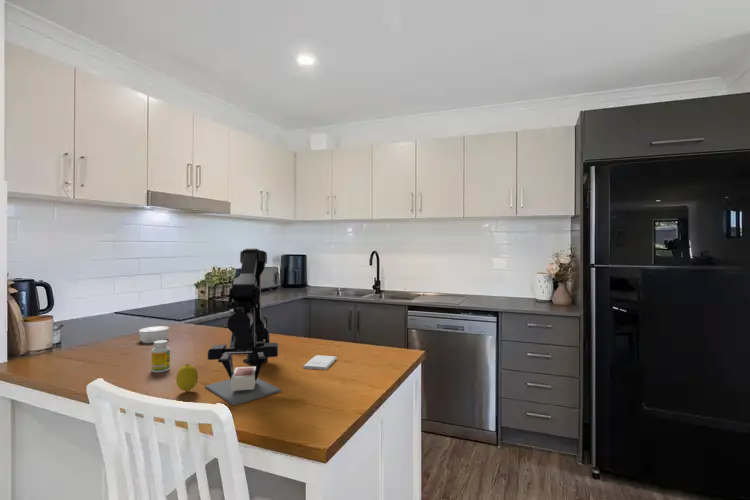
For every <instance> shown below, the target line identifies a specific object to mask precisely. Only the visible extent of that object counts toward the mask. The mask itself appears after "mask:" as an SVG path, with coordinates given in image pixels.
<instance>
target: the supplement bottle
mask: <svg viewBox="0 0 750 500" xmlns="http://www.w3.org/2000/svg"><path fill="white" fill-rule="evenodd" d="M168 343H169V342H168V340H167V339H166V340H159V341H155V342H154V343H153V348H152V349H151V354H150V355H151V365H150V366H151V368H150V370H151V372H152V373H159V374H160V373H164V372H165V373H166V372H167V371H170V368H171V349H170V347H169V346H168Z"/></svg>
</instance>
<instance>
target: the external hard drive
mask: <svg viewBox="0 0 750 500" xmlns="http://www.w3.org/2000/svg"><path fill="white" fill-rule="evenodd" d="M337 359H338V358H337V356H335V355H334V356H332V355H318V354H317V355H314V357H312V358H311V359H309V361H307V362H306V363H305V364H304V365H303V366H302V368H303V369H308V370H313V369H314V370H322V371H323V370H324V371H327V370H328V369H329V368H330V367H331V366H332V364H334V362H336V361H337ZM335 360H336V361H335Z"/></svg>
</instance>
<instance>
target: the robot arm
mask: <svg viewBox="0 0 750 500" xmlns="http://www.w3.org/2000/svg"><path fill="white" fill-rule="evenodd" d="M239 257H240V259H239V263H240V264H241V267H240V272H239V276H238V277H236V278H234V280H233V282H232V286H230V287H229V294H228V301H227V302H228V303H227V309H229V310H231V309H233V308H234V311H233V314H232V315H231V316H230V315H229V318H228V320H227V327H228V330H229V331H230V332H231V334H232V342H234V348H230V347H227V344H213V345H212V346H210V348H209V349H208V351H207V360H210V361H212V360H214V361H215V360H217V362H218V363H221V364H222V366H223V367H224V369H225V371H226V372H227V374H228V376H229V379H231V377H232V374H233V372H234V366H233V355H246V358H244V359H243V361H242V362H244V363H246V364H248V365H251V366H254V365H255V366H256V371H255V381H256V380H257V378H258V377H259V374H260V371H261V367H262V366H263V363H266V362H268V361H269V358H275V357H279V348H280V346H279V343H277V342H270V341H271V340H270V339H271V338H270V336H271V335H270V331H269V330H268V327H267V325H266V324H267V323H266V321H265V319H264V318H263V316H262V276H261V275H262V274H263V273H264V270H265V268H266V264H268V253H267V252H266V251H264V250H261V249H258V248H244V249H243V250H241V251H240V253H239Z"/></svg>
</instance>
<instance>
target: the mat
mask: <svg viewBox="0 0 750 500" xmlns="http://www.w3.org/2000/svg"><path fill="white" fill-rule="evenodd" d="M204 387H205V389H207V390H208V391H210V392H212V393H213V394H215V395H216V396H218V397H219V398H221V399H222V400H224V401H226V402H227V403H229V404H230V405H232V406H237V405H240V404H244V403H247V402H250V401H254V400H258V399H261V398H263V397H267V396H270V395H274V394H277V393H281V392H282V389H281V388H279V387H277V386H275V385H273V384H271V383H268V382H267V381H264V380H262V379H261V378H258V377H257V380H256V383H255V387H254V389H251V390H237V391H231V379H230V378H229V379H226V380H221V381H218V382H214V383H209V384H207V385H206V384H205V385H204Z"/></svg>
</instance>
